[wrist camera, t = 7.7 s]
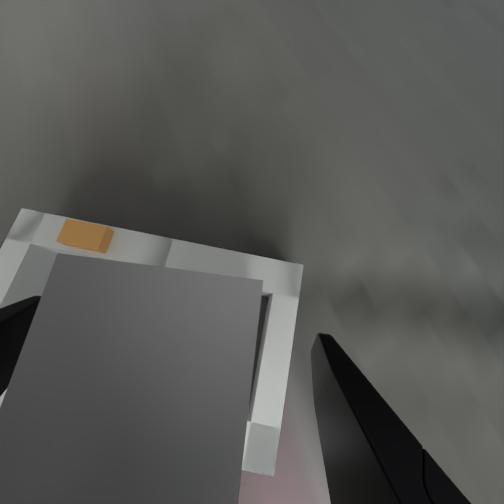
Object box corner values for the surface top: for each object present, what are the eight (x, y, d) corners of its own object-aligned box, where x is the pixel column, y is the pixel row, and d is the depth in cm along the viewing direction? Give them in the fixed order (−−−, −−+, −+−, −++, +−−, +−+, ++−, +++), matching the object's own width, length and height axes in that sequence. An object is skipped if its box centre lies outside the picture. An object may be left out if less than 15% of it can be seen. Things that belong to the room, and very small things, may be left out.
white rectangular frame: (266, 439, 14) (275, 488, 10) (-5, 381, 15) (-102, 405, 11) (291, 275, 17) (307, 262, 13) (63, 229, 18) (9, 202, 14)
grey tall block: (240, 380, 14) (232, 550, 4) (167, 370, 14) (-40, 514, 4) (249, 305, 16) (263, 280, 5) (182, 296, 16) (57, 252, 5)
